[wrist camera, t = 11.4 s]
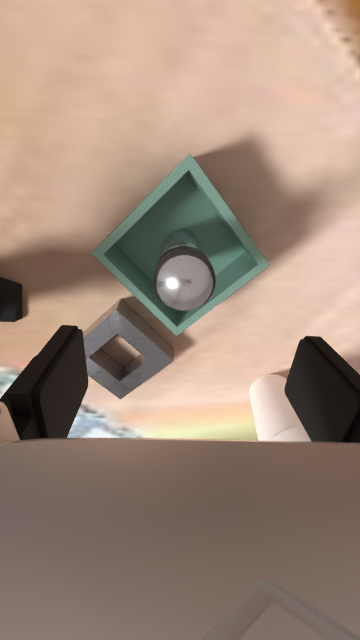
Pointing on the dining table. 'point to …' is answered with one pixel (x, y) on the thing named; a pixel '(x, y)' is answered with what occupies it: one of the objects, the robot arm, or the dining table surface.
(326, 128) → the dining table surface
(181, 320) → the bin
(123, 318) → the socket block
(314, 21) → the dining table surface
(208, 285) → the metal peg
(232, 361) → the dining table surface
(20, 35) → the dining table surface
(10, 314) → the mechanical leg
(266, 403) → the foam cup
